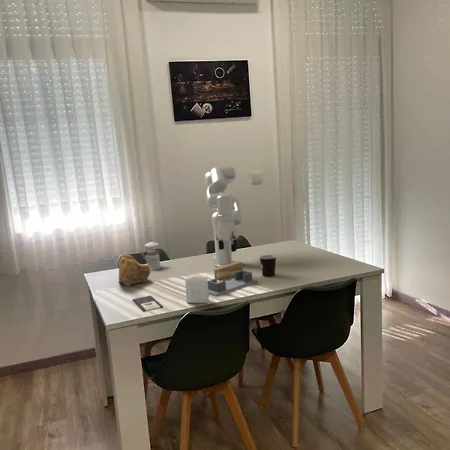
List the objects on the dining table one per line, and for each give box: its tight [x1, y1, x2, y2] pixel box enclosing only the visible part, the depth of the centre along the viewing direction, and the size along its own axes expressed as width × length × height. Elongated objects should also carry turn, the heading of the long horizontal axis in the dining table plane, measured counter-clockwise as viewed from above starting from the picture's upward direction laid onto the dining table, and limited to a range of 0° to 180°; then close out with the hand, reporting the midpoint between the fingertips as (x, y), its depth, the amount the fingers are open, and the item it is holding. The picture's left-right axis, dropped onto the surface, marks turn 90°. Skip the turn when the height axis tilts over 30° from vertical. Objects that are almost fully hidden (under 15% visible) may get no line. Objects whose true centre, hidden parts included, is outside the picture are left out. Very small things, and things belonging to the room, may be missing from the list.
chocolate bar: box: [132, 295, 164, 312], centre depth 209 cm, size 9×1×18 cm
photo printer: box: [184, 274, 210, 304], centre depth 206 cm, size 10×4×12 cm, turn 81°
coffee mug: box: [259, 254, 277, 278], centre depth 241 cm, size 12×9×10 cm
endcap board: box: [207, 270, 259, 297], centre depth 225 cm, size 10×28×5 cm, turn 133°
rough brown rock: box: [118, 253, 151, 287], centre depth 243 cm, size 23×17×15 cm
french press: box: [141, 225, 163, 271], centre depth 270 cm, size 10×12×25 cm
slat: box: [213, 260, 244, 281], centre depth 244 cm, size 3×18×6 cm, turn 134°
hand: (227, 250), depth 242 cm, fingers open, 9 cm apart
